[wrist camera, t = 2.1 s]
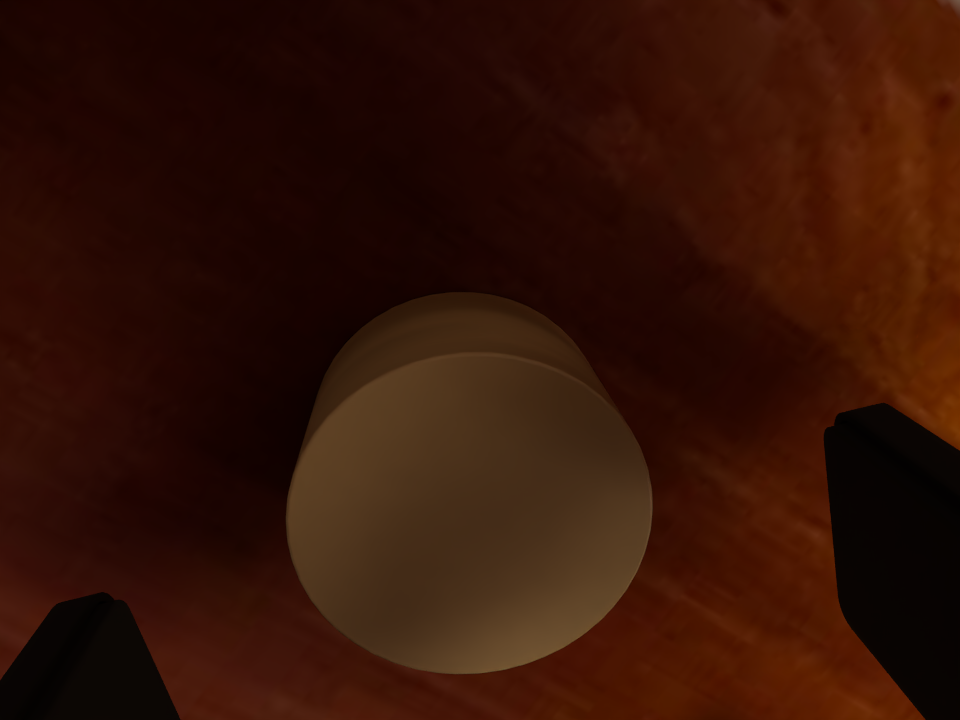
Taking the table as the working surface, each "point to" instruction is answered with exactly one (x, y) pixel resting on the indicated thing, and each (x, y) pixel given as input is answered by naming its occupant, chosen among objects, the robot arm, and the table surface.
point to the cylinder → (466, 488)
